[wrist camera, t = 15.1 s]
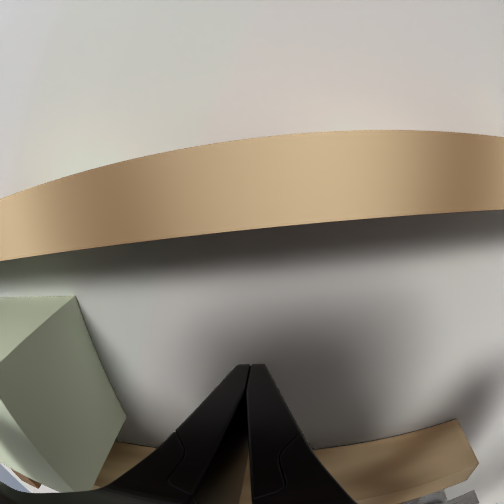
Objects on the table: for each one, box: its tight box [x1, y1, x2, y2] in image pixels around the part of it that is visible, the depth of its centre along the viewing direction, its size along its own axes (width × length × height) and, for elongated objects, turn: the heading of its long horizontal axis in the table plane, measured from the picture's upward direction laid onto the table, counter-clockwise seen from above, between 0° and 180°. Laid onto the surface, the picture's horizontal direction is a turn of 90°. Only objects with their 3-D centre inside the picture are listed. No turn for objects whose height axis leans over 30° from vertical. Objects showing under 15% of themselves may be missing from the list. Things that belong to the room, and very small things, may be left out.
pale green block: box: [0, 296, 127, 493], centre depth 8 cm, size 6×6×5 cm
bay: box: [0, 130, 504, 504], centre depth 8 cm, size 22×14×4 cm, turn 97°
